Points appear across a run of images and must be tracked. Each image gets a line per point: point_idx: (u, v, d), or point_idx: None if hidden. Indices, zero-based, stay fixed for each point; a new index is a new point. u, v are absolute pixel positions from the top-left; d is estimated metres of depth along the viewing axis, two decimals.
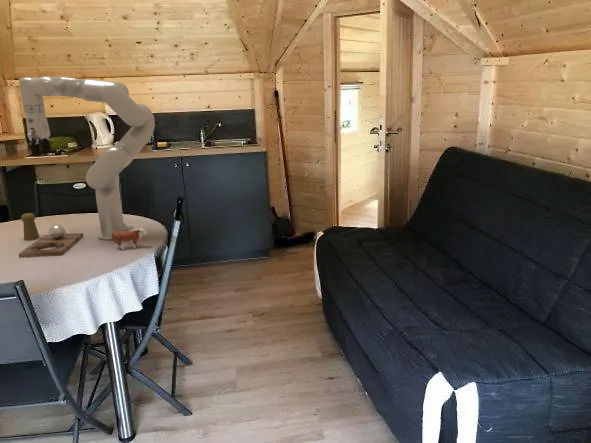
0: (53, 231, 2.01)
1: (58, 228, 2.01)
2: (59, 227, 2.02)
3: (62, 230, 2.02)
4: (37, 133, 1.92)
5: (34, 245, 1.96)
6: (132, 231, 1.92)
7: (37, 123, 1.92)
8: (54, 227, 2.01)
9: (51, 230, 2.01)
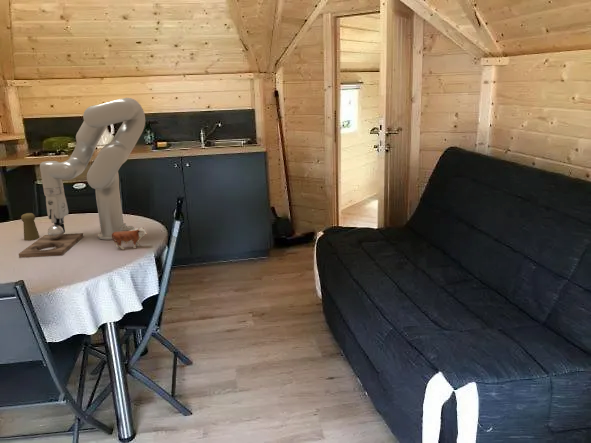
0: (52, 233, 2.00)
1: (56, 230, 2.00)
2: (57, 228, 2.01)
3: (60, 231, 2.02)
4: (56, 214, 2.01)
5: (34, 245, 1.96)
6: (132, 231, 1.92)
7: (56, 205, 2.00)
8: (52, 229, 2.00)
9: (49, 232, 2.00)
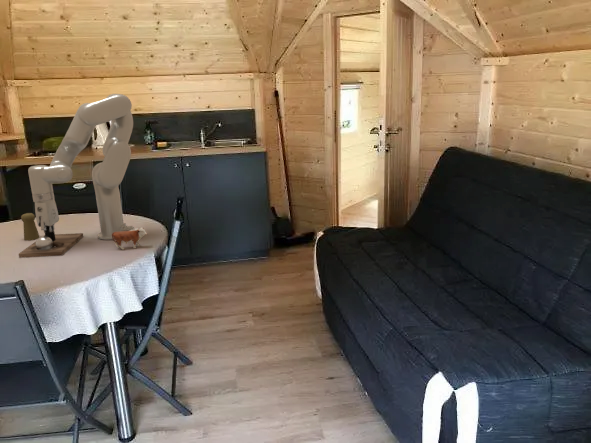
0: None
1: None
2: (52, 242, 1.95)
3: (50, 238, 1.95)
4: (46, 221, 1.91)
5: (34, 245, 1.96)
6: (132, 231, 1.92)
7: (46, 212, 1.90)
8: None
9: None
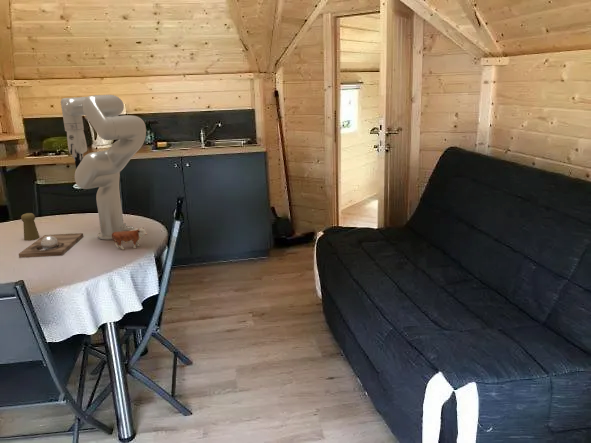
0: None
1: None
2: None
3: None
4: (77, 149, 2.10)
5: (34, 245, 1.96)
6: (132, 231, 1.92)
7: (77, 139, 2.09)
8: None
9: None
